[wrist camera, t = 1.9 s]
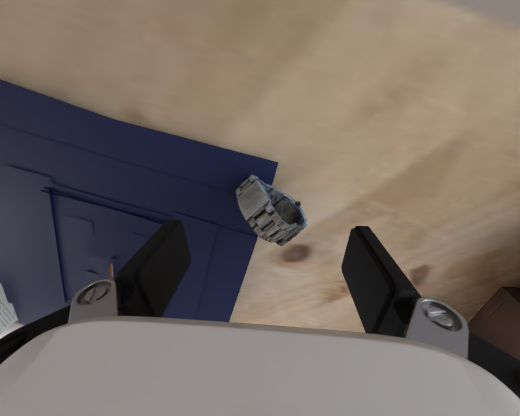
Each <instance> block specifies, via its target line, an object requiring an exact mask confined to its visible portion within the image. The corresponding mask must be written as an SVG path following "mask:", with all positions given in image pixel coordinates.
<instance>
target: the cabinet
mask: <svg viewBox="0 0 520 416" xmlns="http://www.w3.org/2000/svg"><path fill="white" fill-rule="evenodd" d="M468 328H469V332H471V333H473V334H475V335H476V336H478V337H480V338H482V339H483V340H485V341H487V342H489V343H490V344H492V345H494V346H496V347H497V348H499V349H501V350H503V351H504V352H506V353H508V354H510V355H511V356H513V357H515V358H517V359H518V360H520V288H504V287H502V288H501V289H500V290H499V291H498V292H497V293H496V294H495V295H494V296H493V297H492V299H491V300H490V301H489V302H488V303H487V304H486V305H485V306H484V307H483V308H482V310H481V311H480V312H479V313H478V314H477V315H476V316H475V317H474V318H473V319H472V320H471V322H470V323H469V324H468Z"/></svg>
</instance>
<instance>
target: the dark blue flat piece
mask: <svg viewBox="0 0 520 416" xmlns="http://www.w3.org/2000/svg"><path fill="white" fill-rule="evenodd" d="M277 165H278V162H274V161H270V160H266V159H262V158H259V157H255V156H251V155H247V154H243V153H239V152H236V151H232V150H228V149H224V148H220V147H216V146H213V145H209V144H205V143H201V142H197V141H194V140H190V139H186V138H182V137H178V136H174V135H171V134H167V133H163V132H159V131H155V130H151V129H148V128H144V127H140V126H136V125H132V124H128V123H125V122H121V121H117V120H113V119H110V118H108V117H105V116H102V115H99V114H96V113H93V112H91V111H88V110H85V109H82V108H79V107H76V106H73V105H71V104H68V103H65V102H62V101H59V100H56V99H53V98H51V97H48V96H45V95H42V94H39V93H36V92H34V91H31V90H28V89H25V88H22V87H19V86H16V85H14V84H11V83H8V82H5V81H2V80H0V283H1V284H2V287H3V290H4V293H5V296H6V298H7V301H8V303H11V304H13V307H14V310H15V313H16V315H17V318H18V321H19V323H21V324H26V325H27V324H29V323H31V322H34V321H36V320H38V319H40V318H42V317H45V316H47V315H49V314H51V313H53V312H56V311H58V310H60V309H62V308H64V307H67V306H69V305H71V302H72V299H73V297H74V296H75V294H76V293H77V292H78V291H79V290H80V289H81V288H83V287H84V286H86V285H87V284H89V283H91V282H93V281H95V280H99V279H102V278H111V279H113V280H114V279H115V278H116V277H117V275H116V273H117V272H118V271H119V270H120V269H121V268H122V267H123V266H124V265H125V264H126V263H127V262H128V261H129V260H130V259H131V257H132V256H133V255H134V254H135V253H136V252H137V251H138V250H139V249H140V248H141V247H142V246H143V245H144V244H145V243H146V242H147V241H148V240H149V239H150V238H151V236H152V235H153V234H154V233H155V232H156V231H157V230H158V229H159V228H160V227H161V226H162V225H163V224H164V223H165V222H166V221H167V220H179V221H180V222H181V223H183V226H184V230H185V234H186V238H187V242H188V246H189V251H190V255H191V264H190V266H189V268H188V269H187V271H186V273H185V275H184V277H183V279H182V280H181V282H180V284H179V286H178V288H177V290H176V291H175V293H174V295H173V297H172V299H171V301H170V302H169V304H168V306H167V308H166V310H165V312H164V314H163V315H162V317H161V318H176V319H191V320H205V321H220V322H229V320H230V317H231V314H232V311H233V308H234V305H235V302H236V299H237V296H238V293H239V290H240V288H241V285H242V282H243V279H244V276H245V273H246V270H247V267H248V264H249V261H250V258H251V255H252V252H253V249H254V246H255V243H256V241H257V238H258V235H257V234H256V232H255V231H254V230H253V228H252V227H251V226H250V225H249V223H248V222H247V221H246V220H245V218H244V216H243V215H242V213H241V211H240V208H239V206H238V199H237V194H236V190H237V189H238V188H239V187H240V185H241V184H242V183H243V182H244V181H246V180H247V179H248V178H249V177H250V176H251V174H253V175H255V176H257V177H258V179H259V180H261V181H263V182H264V183H265V184H269V185H271V186H272V183H273V179H274V176H275V172H276V169H277ZM269 191H270V190H269Z"/></svg>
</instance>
